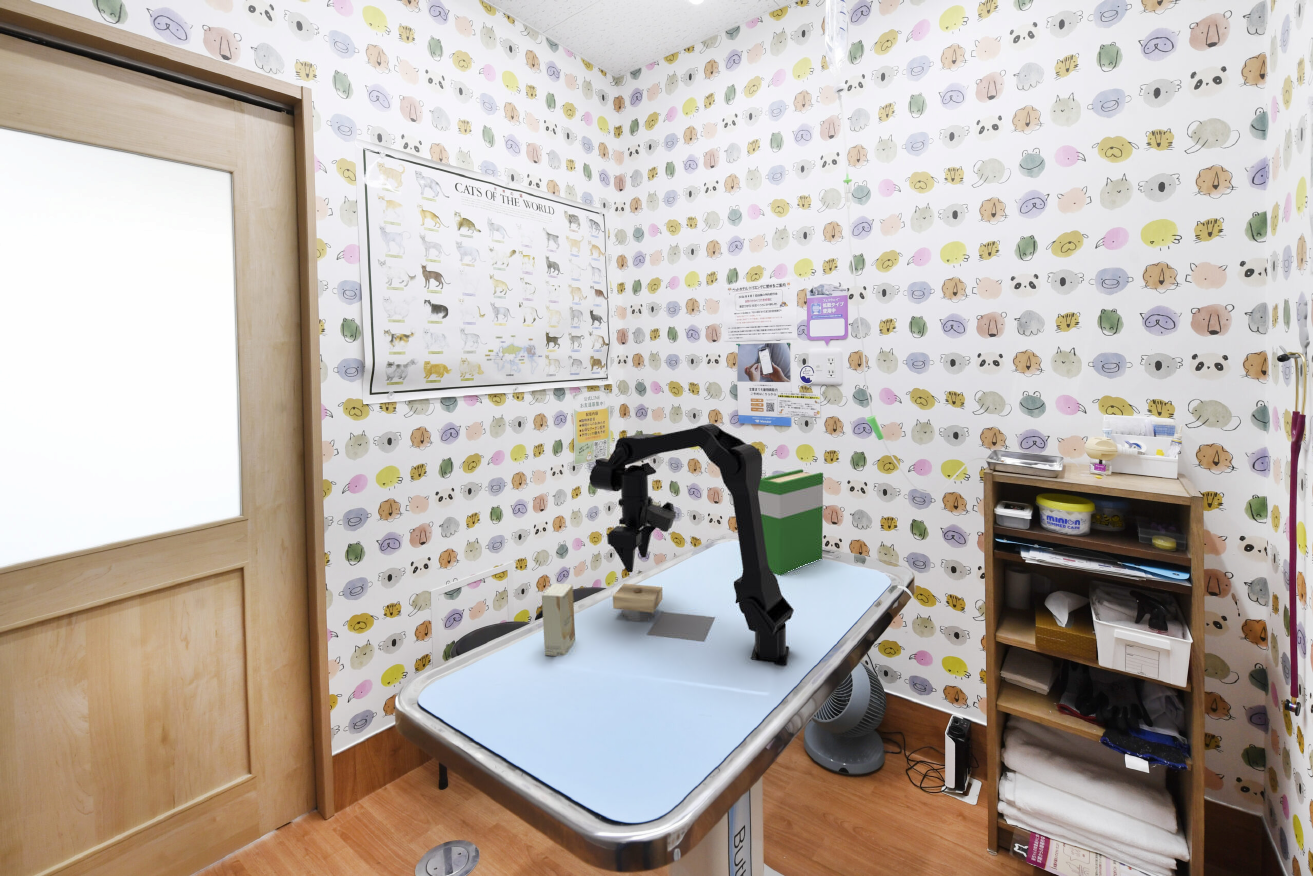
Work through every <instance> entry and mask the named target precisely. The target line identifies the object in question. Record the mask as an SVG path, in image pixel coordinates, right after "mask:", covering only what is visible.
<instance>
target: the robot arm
mask: <svg viewBox="0 0 1313 876" xmlns="http://www.w3.org/2000/svg"><path fill="white" fill-rule="evenodd" d="M614 447H615V448H614V449H613V451H612V453H611V454H610V457H609V458H608V459H607V458H602V457H601V458H596V459H595V460H594V461H595V465H594V466H593V467H592V469H591V471H590V474H589V482H590V485H591V486H592V487H593V488H594V489H597V490H603V491H608V492H619V491H621V492H620V495H621V496H620V497H621V498H620V499H619V500H618V506H621V517H620V518H619V519H618V523H619V524H618V525H616V526H615V527H614V528H613V529H611V530H610V531H609V532H608V533H607V534H606V538H607V539H606V540H607V545H610V547H612V548H613V549H614V551H615V552H616V554H617V556H618V557H619V559H620V561H621V563H622V565H623V567H624V568H625V570H626V572H627V573H633V572H634V567H635V565H634V564H635V557H636V549H638V552H639V554H640V557H641V558H647V554H648V552H649V551H648V550H649V546H650V542H651V538H652V533H653V532H654V531H655V530H657V529H659V531H661V532H664V533H667V532H669V530H670V529H671V528H672V526H673V523H674V522H675V519H676V517H677V511H675V507H674V503H671V502H669V501H667V502H666V503H664V504H663V505H662V506H661V504H658V505H657V504H654V503H653V498H652V496H649V482H648V481H649V478H648V476H652V475H654V474H657V470H656V469H655V468H654V467H653V466H651V464H650V462H644V461H646V460H649V459H651V458H654V457H656V456H657V455H659V454H663V453H669V452H674V451H680V450H685V449H690V448H696V447H698V448H700V449H701V450H702V451H703V452H704V454H705V455H706V457H707V459H708V460H709V461H710V462H711V463H712V464H713V465H715V466H716V467H717V468H718V469H719V472H720V476H721V479H722V483H723V484H724V486H725V487H726V488H727V490H728V492H729V493H730V494H731V497H732V502H733V508H734V509H733V510H734V518H735V524H736V531H737V537H738V544H739V550H740V558H741V565H742V574H741V576H740V577H739V578H737V579H736V580H734V581H733V589H734V593H735V604H738V607H739V610H740V612H741V613H742V614H743V615H744V616H743V617H744V618H745V622H746V624H747V625H746V626H747V627H748V630H749V631H750V632H751V631H752V632H754V646H753V649H752V654H751V656H750V660H751V661H755V662H756V661H757V662H765V663H766V662H767V663H773V665H779V666H786V665H787V664H788V659H789V652H790V646H788V645H787V644H786V643H787V641H786V640H787V630H786V628H787V625H786V623H787V622H788V621H789V620H790V619H791V618H792V617H793V615H794V611H795V610H794V607H792V605H790V603H789V602H788V601H787V600H786V598H785V597H784V596H783V594H782V591H781V588H780V584H779V582H778V578H777V577H776V574H773V572H772V571H771V569H770V568H769V565H768V560H767V553H766V546H765V539H764V532H763V525H762V518H761V511H760V504H759V497H758V489H759V485H760V481H761V478H763V477H762V475H763V455H762V452H761V451H760V450H759V449H758V448H757V447H756V446H754V445H752V444H749V443H746V442H744V441H743V440H742V439H741V438H738V437H737V436H734V435H733V434H730V433H729V432H726V431H724V430H723V429H722V428H721V427H719V425H716V424H713V423H707V424H702V425H699V426H697V427H694V428H688V429H684V430H678V431H674V432H668V433H663V434H653V433H637V434H633V435H629V436H622V437H620V438H618V439H617V440H616V443H615V446H614ZM642 461H643V463H642V464H641V465H637V464H636V463H639V462H642ZM626 466H628V467H626ZM622 525H624V526H622Z"/></svg>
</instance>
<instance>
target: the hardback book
mask: <svg viewBox="0 0 1313 876" xmlns="http://www.w3.org/2000/svg"><path fill="white" fill-rule="evenodd" d="M758 497H759V504H760V511H761V518H762V525H763V532H764V539H765V546H766V553H767V560H768V565H769V568H770V569H771V571H772V572H773V573H774V575H776V574H777V575H776V576H779V575H780V576H783V575H785V574H784V573H786V572H788V571H791V570H793V569H796V568H798V567H800V566H803V565H805V564H808V563H811V562H814V561H816V560H819V559H822V560H823V527H824V525H823V524H824V523H823V522H824V521H823V517H824V516H823V514H824V513H823V511H824V509H823V507H824V506H823V505H824V504H823V503H824V473H823V472H817V473H814V474H813V473H807V472H804V469H802V468H801V469H800V468H799V469H796V470H792V471H787V472H783V473H779V474H773V475H769V476H765V477H761V481H760V485H759V489H758ZM819 561H820V560H819ZM816 562H817V561H816ZM814 563H815V562H814ZM811 564H812V563H811ZM798 569H799V568H798ZM796 570H797V569H796ZM793 571H794V570H793ZM791 572H792V571H791ZM788 573H789V572H788ZM782 574H783V575H782ZM786 574H787V573H786Z"/></svg>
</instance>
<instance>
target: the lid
mask: <svg viewBox="0 0 1313 876" xmlns="http://www.w3.org/2000/svg"><path fill="white" fill-rule="evenodd" d="M663 599H664V598H663V586H653V585H643V584H632V583H623V584H622V585H621V587H619V588H618V589H617V590H616V592H615V593H614V594H613V595H612V607H613V608H612V609H617V610H623V609H624V610H634V611H643V612H654V613H655V612H656V610H657V608H658V606H659V605H660V603H662V600H663Z"/></svg>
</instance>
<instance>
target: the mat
mask: <svg viewBox="0 0 1313 876" xmlns="http://www.w3.org/2000/svg"><path fill="white" fill-rule="evenodd" d="M715 619H716V616H709V615H708V616H707V615H696V614H690V613H689V614H688V613H687V614H686V613H678V612H667V611H661V612H660V613H659V615H658V617H657V618H656V620H655V621H654V622H653V624H652V625H651V627H650V629H649V630H648V632H647V633H646V636H654V637H662V638H671V639H678V640H687V641H695V642H705V641H706V639H707V636H708V634H709V633H710V630H711V628H712V627H713V623H714V622H715Z"/></svg>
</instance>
